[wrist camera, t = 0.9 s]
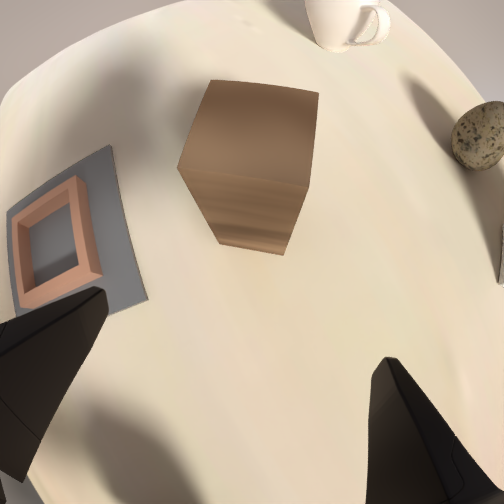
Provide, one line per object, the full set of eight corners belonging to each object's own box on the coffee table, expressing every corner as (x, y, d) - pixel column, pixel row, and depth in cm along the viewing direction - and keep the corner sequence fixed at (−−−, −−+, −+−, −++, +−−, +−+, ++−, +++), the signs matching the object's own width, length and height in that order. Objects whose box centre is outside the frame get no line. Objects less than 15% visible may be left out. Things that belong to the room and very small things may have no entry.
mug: (288, 31, 28) (293, -39, 17) (341, 27, 28) (355, -35, 17) (336, 85, 25) (359, 1, 14) (391, 79, 26) (423, 10, 15)
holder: (148, 300, 21) (136, 298, 19) (26, 347, 20) (10, 348, 18) (111, 146, 24) (101, 133, 22) (8, 212, 24) (-4, 206, 21)
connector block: (283, 255, 22) (309, 187, 10) (219, 243, 22) (177, 167, 10) (292, 196, 23) (318, 92, 11) (232, 186, 23) (210, 79, 11)
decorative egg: (467, 190, 22) (526, 146, 13) (432, 147, 24) (481, 91, 14) (484, 166, 23) (533, 124, 13) (452, 128, 24) (494, 78, 14)
